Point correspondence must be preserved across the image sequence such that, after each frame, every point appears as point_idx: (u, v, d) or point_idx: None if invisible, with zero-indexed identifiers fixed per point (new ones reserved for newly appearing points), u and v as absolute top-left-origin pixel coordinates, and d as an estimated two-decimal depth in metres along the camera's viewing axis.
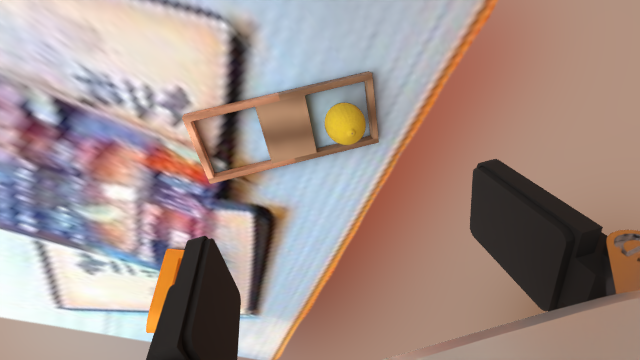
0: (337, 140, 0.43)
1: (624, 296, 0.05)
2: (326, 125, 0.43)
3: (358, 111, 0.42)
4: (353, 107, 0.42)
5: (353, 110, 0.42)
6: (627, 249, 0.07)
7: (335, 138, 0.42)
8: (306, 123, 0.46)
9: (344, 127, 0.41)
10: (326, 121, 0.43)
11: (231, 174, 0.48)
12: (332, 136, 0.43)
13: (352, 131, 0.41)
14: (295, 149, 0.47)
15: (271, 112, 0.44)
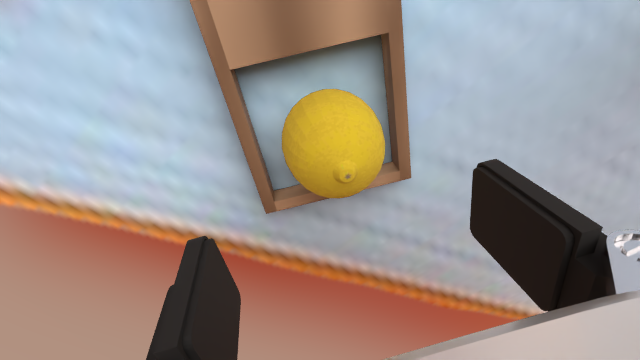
0: (311, 133, 0.15)
1: (624, 296, 0.05)
2: (335, 95, 0.16)
3: None
4: None
5: None
6: (627, 249, 0.07)
7: (316, 126, 0.14)
8: (315, 37, 0.17)
9: (360, 151, 0.14)
10: (344, 94, 0.16)
11: None
12: (318, 116, 0.15)
13: (353, 176, 0.14)
14: (236, 1, 0.16)
15: None
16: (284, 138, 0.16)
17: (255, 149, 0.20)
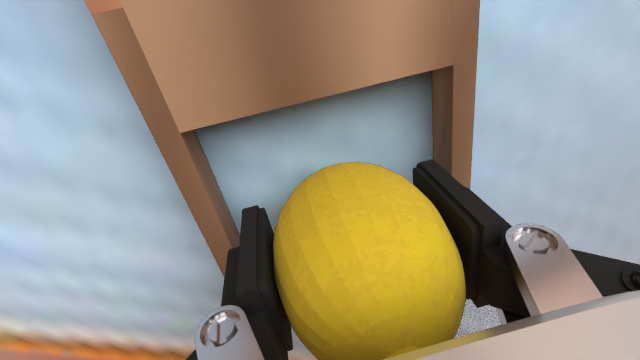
0: (332, 283, 0.07)
1: (624, 296, 0.05)
2: (372, 189, 0.08)
3: None
4: None
5: None
6: (523, 243, 0.08)
7: (344, 271, 0.07)
8: (329, 76, 0.10)
9: (435, 324, 0.07)
10: (387, 184, 0.09)
11: None
12: (346, 246, 0.07)
13: None
14: (182, 15, 0.08)
15: None
16: (277, 265, 0.09)
17: (230, 248, 0.12)
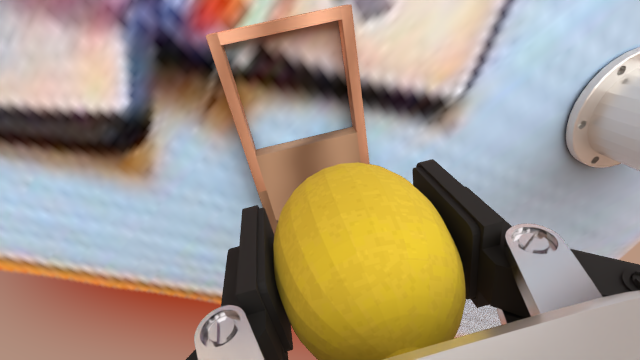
0: (332, 284, 0.07)
1: (624, 296, 0.05)
2: (372, 189, 0.08)
3: None
4: None
5: None
6: (523, 243, 0.08)
7: (344, 272, 0.07)
8: None
9: (435, 324, 0.07)
10: (387, 185, 0.09)
11: (231, 83, 0.24)
12: (346, 247, 0.07)
13: None
14: (282, 191, 0.29)
15: (344, 155, 0.29)
16: (277, 265, 0.09)
17: None
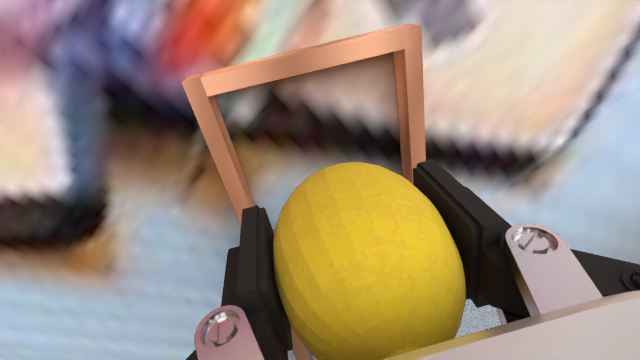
0: (332, 283, 0.07)
1: (624, 296, 0.05)
2: (372, 189, 0.08)
3: None
4: None
5: None
6: (523, 243, 0.08)
7: (344, 271, 0.07)
8: None
9: (435, 324, 0.07)
10: (387, 184, 0.09)
11: (226, 152, 0.15)
12: (346, 246, 0.07)
13: None
14: None
15: None
16: (277, 265, 0.09)
17: None
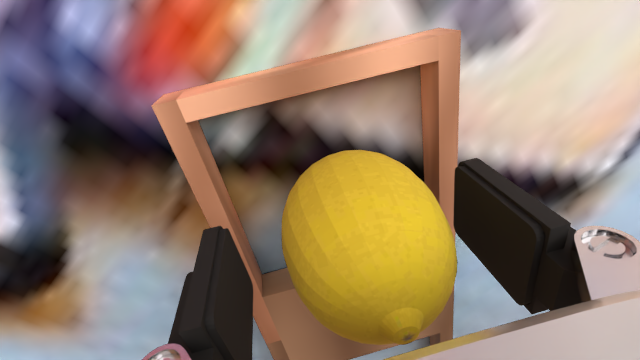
0: (336, 253, 0.08)
1: (624, 296, 0.05)
2: (372, 171, 0.09)
3: None
4: None
5: None
6: (594, 245, 0.07)
7: (347, 241, 0.08)
8: (375, 345, 0.19)
9: (428, 288, 0.08)
10: (385, 168, 0.10)
11: (212, 189, 0.12)
12: (349, 220, 0.08)
13: (416, 335, 0.08)
14: (307, 338, 0.17)
15: None
16: (286, 241, 0.10)
17: None
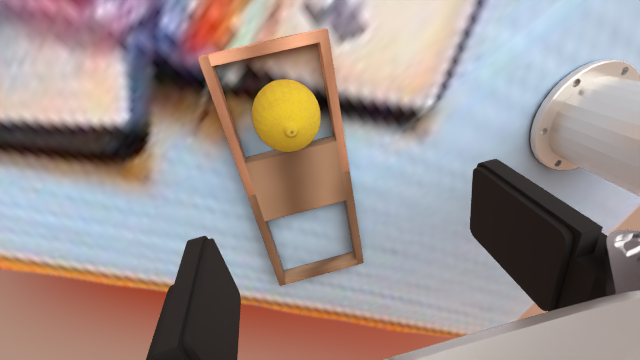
0: (268, 105, 0.23)
1: (624, 296, 0.05)
2: (286, 82, 0.24)
3: None
4: None
5: (318, 128, 0.25)
6: (627, 249, 0.07)
7: (272, 101, 0.23)
8: (308, 205, 0.33)
9: (300, 116, 0.23)
10: (292, 82, 0.24)
11: (221, 99, 0.27)
12: (273, 95, 0.23)
13: (295, 132, 0.23)
14: (269, 194, 0.32)
15: (326, 162, 0.31)
16: (253, 111, 0.24)
17: (275, 255, 0.36)
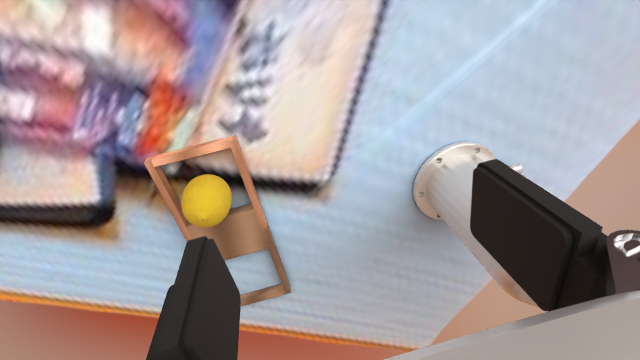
0: (187, 201, 0.34)
1: (624, 296, 0.05)
2: (203, 181, 0.35)
3: (226, 215, 0.36)
4: None
5: (227, 211, 0.36)
6: (627, 249, 0.07)
7: (190, 198, 0.34)
8: (239, 252, 0.44)
9: (208, 209, 0.34)
10: (208, 180, 0.35)
11: (163, 186, 0.38)
12: (191, 193, 0.34)
13: (205, 219, 0.34)
14: None
15: (248, 223, 0.42)
16: (181, 200, 0.36)
17: None
